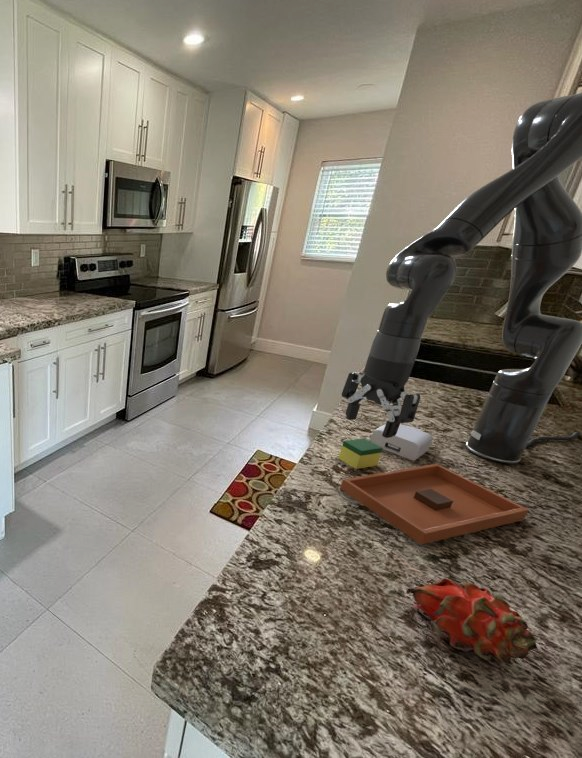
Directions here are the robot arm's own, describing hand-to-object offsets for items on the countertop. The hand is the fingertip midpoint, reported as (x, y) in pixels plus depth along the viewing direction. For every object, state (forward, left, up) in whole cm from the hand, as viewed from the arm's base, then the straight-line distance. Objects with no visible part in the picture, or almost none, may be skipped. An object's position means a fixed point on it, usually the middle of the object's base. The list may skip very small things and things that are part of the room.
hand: (367, 427), depth 88 cm
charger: (-19, -4, -9) cm, 22 cm away
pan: (0, +15, -9) cm, 18 cm away
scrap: (-1, +15, -9) cm, 17 cm away
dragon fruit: (+25, +36, -9) cm, 45 cm away
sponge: (0, 0, -9) cm, 9 cm away
